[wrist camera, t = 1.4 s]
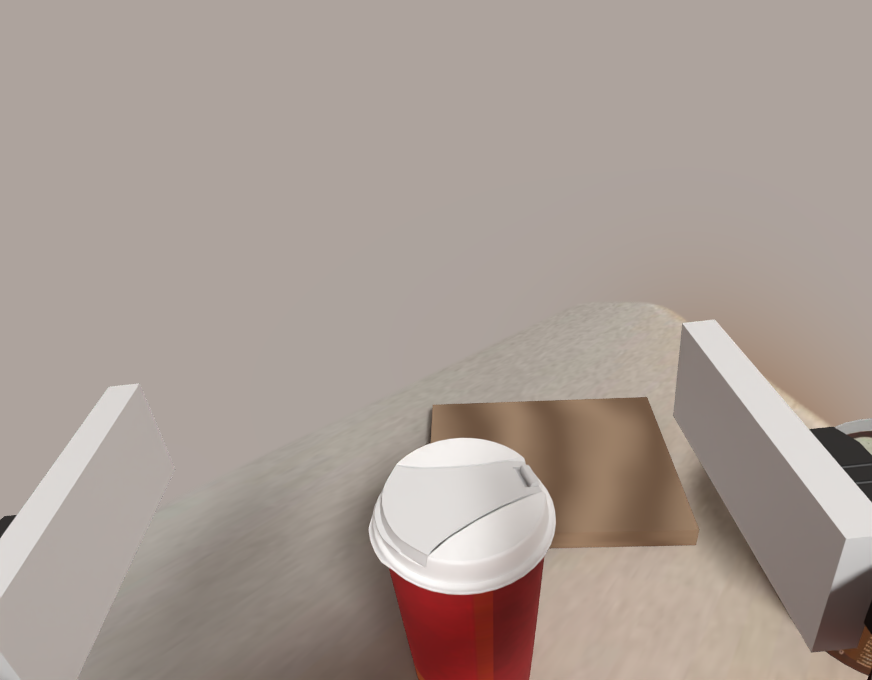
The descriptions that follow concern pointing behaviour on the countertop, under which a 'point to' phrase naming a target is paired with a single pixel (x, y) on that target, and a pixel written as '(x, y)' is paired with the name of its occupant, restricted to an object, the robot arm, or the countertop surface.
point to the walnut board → (588, 466)
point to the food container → (868, 650)
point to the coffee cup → (465, 557)
